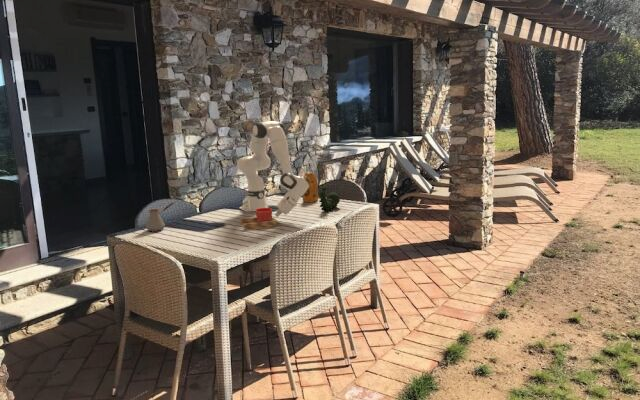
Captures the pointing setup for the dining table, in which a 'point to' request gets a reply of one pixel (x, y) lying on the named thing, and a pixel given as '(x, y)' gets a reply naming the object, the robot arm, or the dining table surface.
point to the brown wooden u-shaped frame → (258, 223)
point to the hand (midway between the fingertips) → (276, 216)
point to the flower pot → (263, 214)
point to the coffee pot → (155, 220)
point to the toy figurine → (328, 200)
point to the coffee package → (311, 189)
